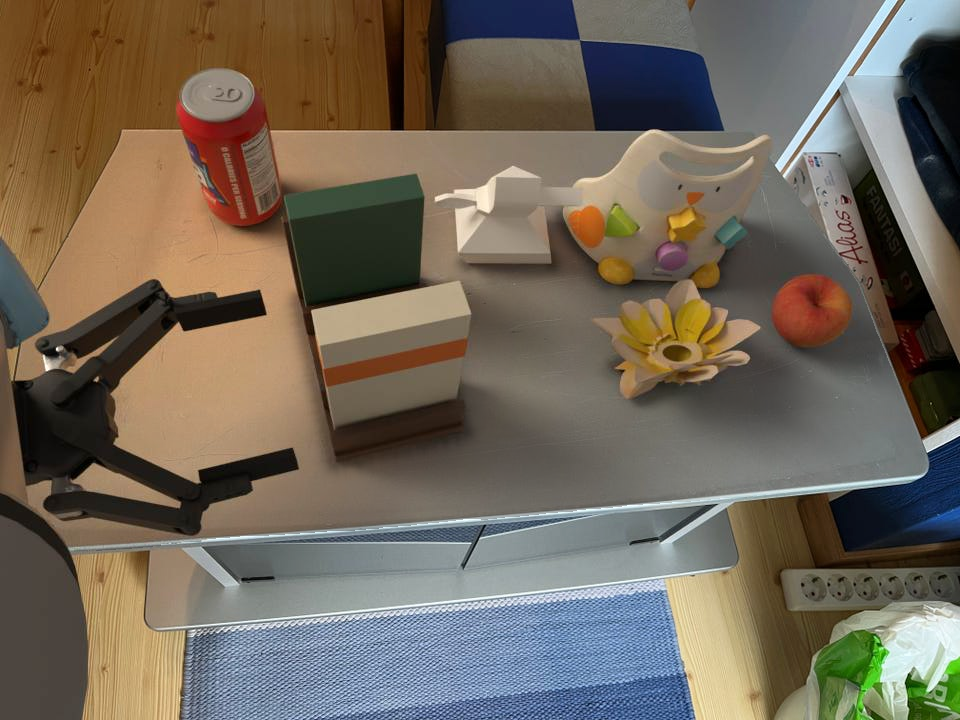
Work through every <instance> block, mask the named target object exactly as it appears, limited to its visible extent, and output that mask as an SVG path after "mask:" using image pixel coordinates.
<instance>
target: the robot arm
mask: <svg viewBox="0 0 960 720" xmlns="http://www.w3.org/2000/svg"><path fill="white" fill-rule="evenodd" d="M265 316H268V314H267V310H266V305H265V302H264V299H263V295H262V291H261V289H256V290H251V291H245V292H239V293H234V294H229V295H225V296H224V295H223V296H219V297H218V294H217V292H215V291H204V292H202V293H201V292H199V293H195V294H188V295H184V296H183V295H182V296H178V297H173V296H171V295H170V293H169V292H167V291H166V289H165V287H164V286H163V285H162V284H161V281H160V280H159V279H155V278H151V279H149V280H147V281H145V282H143V283H142V284H140V285H138V286H137V287H135V288H134V289H132V290H130V291H128V292H127V293H125V294H124V295H122V296H120V297H118V298H117V299H115V300H113V301H112V302H110V303H108V304H106V305H105V306H104V307H101V308H100V309H99V310H97V311H95V312H94V313H92V314H89V316H87V317H85V318H84V319H82V320H80V321H79V322H76V323H75V324H73V325H72V326H70V327H69V328H67V329H64V330H61V331H57V332H54V333H50V334H47V335H44V336H41V337H39V338H37V339H36V340H35V342H34V348H35V349H36V350H37V351H38V353H39V354H40V355H41V356H42V361H43V365H44V370H45V372H43V373H42V374H40V375H38V376H36V377H33V378H32V379H22V380H21V379H20V380H19V379H18V380H12V377H11V371H10V364H9V356H8V350H13V349H15V348H18V347H19V346H20V345H22V343H23V342H24V341H26V340H29V339H30V338H33V337H34V336H36V335H37V334H39V333H41V332H43V331H44V330H45V329H46V328H47V327H48V326H49V324H50V319H51V318H50V317H51V316H50V312H49V309H48V307H47V305H46V302H45V301H44V299H43V298H42V295H41V294H40V292H39V290H38V289H37V287H36V285H35V283H33V281H32V279H31V277H30V276H29V274H28V273H27V271H26V270H25V268H24V266H23V265H22V263H21V262H20V260H19V259H18V257H17V256H16V255H15V254H14V252H13V251H12V249H11V248H10V246H9V245H8V244H7V243H6V241H5V240H4V239H3V238H2V236H0V720H83V716H84V710H85V705H86V698H87V692H88V688H89V687H88V686H89V637H88V628H87V627H88V626H87V624H88V623H87V615H86V611H85V606H84V600H83V596H82V592H81V586H80V581H79V577H78V572H77V567H76V564H75V562H74V558H73V555H72V553H71V551H70V549H69V547H68V545H67V543H66V540H64V538H63V537H62V535H61V534H60V533H59V531H58V530H57V529H56V527H55V526H54V525H53V523H52V522H51V521H50V520H48V519H47V518H46V517H45V516H44V515H43V514H42V513H41V512H40V511H39V510H38V509H37V508H35V507H34V506H32V505H30V504H29V498H28V490H27V487H29V486H34V485H37V484H40V483H42V482H46V481H48V482H49V481H51V485H50V494H49V495H47V496H46V497H45V498H44V500H43V502H42V507H43V509H44V511H46V512H48V513H49V514H51V515H52V516H53V517H54V518H56V519H57V520H59V521H61V522H70V521H77V520H84V519H85V520H86V519H91V518H93V519H98V520H102V521H103V520H104V521H108V522H114V523H119V524H124V525H129V526H135V527H140V528H146V529H149V530H155V531H161V532H166V533H171V534H176V535H182V536H187V537H195V536H197V535H199V533H200V532H201V530H202V518H203V514H204V512H206V511H207V510H208V509H209V508H210V505H213V504H216V503H221V502H224V501H228V500H232V499H236V498H240V497H244V496H248V495H249V494H250V493H252V492H254V488H253V482H254V481H255V482H256V481H258V480H259V481H260V480H263V479H266V478H267V479H268V478H270V477H274V476H275V477H276V476H278V475H282V474H286V473H290V472H296V471H299V470H300V467H299V462H298V459H297V458H298V457H297V455H296V452H295V449H294V446H293V447H288V448H284V449H280V450H275V451H272V452H267V453H264V454H259V455H255V456H251V457H250V456H249V457H247V458H243V459H238V460H233V461H230V462H226V463H222V464H218V465H213V466H209V467H205V468H201V469H197V473H198V479H199V482H198V483H196V482H194V481H192V480H190V479H188V478H185V477H184V476H182V475H180V474H177V473H175V472H173V471H171V470H169V469H166V468H164V467H161V466H160V465H157V464H156V463H153V462H152V461H149V460H147V459H145V458H143V457H140V456H138V455H136V454H134V453H132V452H129V451H128V450H126V449H123V448H121V447H119V446H118V445H116V444H115V442H116V439H118V438H120V437H119V428H118V426H117V424H116V421H115V415H116V409H117V407H116V399H115V398H114V397H113V396H112V393H114V391H115V390H116V389H117V388H118V387H119V385H120V384H121V380H122V378H123V377H125V376H126V374H128V373H129V372H130V370H131V369H133V368H134V367H135V366H136V364H138V363H139V361H141V360H142V359H143V358H144V356H146V355H147V354H148V353H149V352H150V351H151V350H152V349H153V348H154V347H155V346H156V345H157V344H158V343H160V341H162V339H163V338H164V337H166V335H167V334H168V333H169V332H170V331H171V330H172V329H173V328H174V327H175V326H176V325H178V324H179V325H180V328H181V330H182V331H183V332H190V331H195V330H200V329H204V328H209V327H214V326H219V325H224V324H229V323H235V322H239V321H240V322H241V321H244V320H249V319H255V318H260V317H265ZM111 341H112V342H111ZM110 342H111V343H110ZM108 343H110V344H109V345H108V346H106V347H105V348H104V350H102V351H101V352H100V353H99V354H97V355H95V356H91V357H89V358H88V359H87V360H86V361H85V362H84V363H82V365H81V366H79V368H77V369H76V370H75V371H74V372H72V371H69V370H67V369H68V368H69V367H75V366H76V364H77V360H80V359H82V358H84V357H86V356H88V355H91V354H93V353H94V352H96V351H97V350H98V349H100V348H102V347H103V346H105V345H106V344H108ZM96 378H98V379H97V381H96ZM93 464H95V465H97V466H99V467H102V468H104V469H106V470H108V471H110V472H112V473H114V474H118V475H121V476H124V477H125V478H128V479H130V480H131V481H134V482H135V483H138V484H140V485H143V486H144V487H147V488H149V489H151V490H153V491H155V492H157V493H160V494H161V495H163V496H165V497H168V498H170V499H172V500H174V501H176V502H179V503H180V505H179V507H176V506H170V505H164V504H159V503H154V502H149V501H144V500H140V499H139V500H138V499H134V498H129V497H124V496H117V495H113V494H108V493H107V494H106V493H101V492H97V491H89V490H87V489H86V488H84V486H82V485H81V484H79V483H73V481H75V480H77V479H78V478H79V477H80V476H81V475H82V474H83V473H84V472H86V471H87V470H88V469H89V468H90V467H91V466H92V465H93Z"/></svg>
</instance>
